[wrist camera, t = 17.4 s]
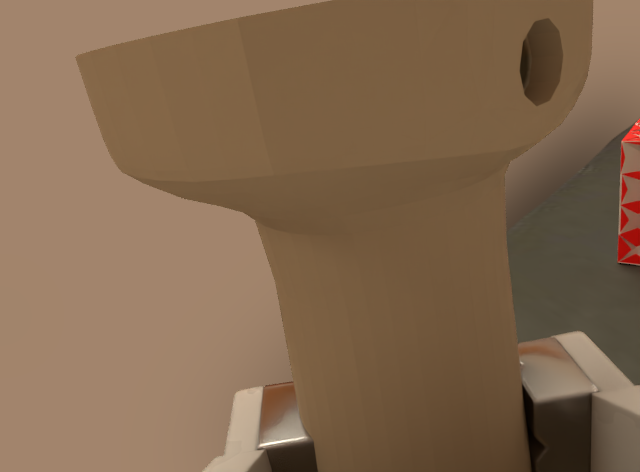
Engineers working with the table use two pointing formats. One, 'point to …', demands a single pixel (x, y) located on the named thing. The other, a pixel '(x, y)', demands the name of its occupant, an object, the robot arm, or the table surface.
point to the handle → (366, 197)
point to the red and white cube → (630, 198)
